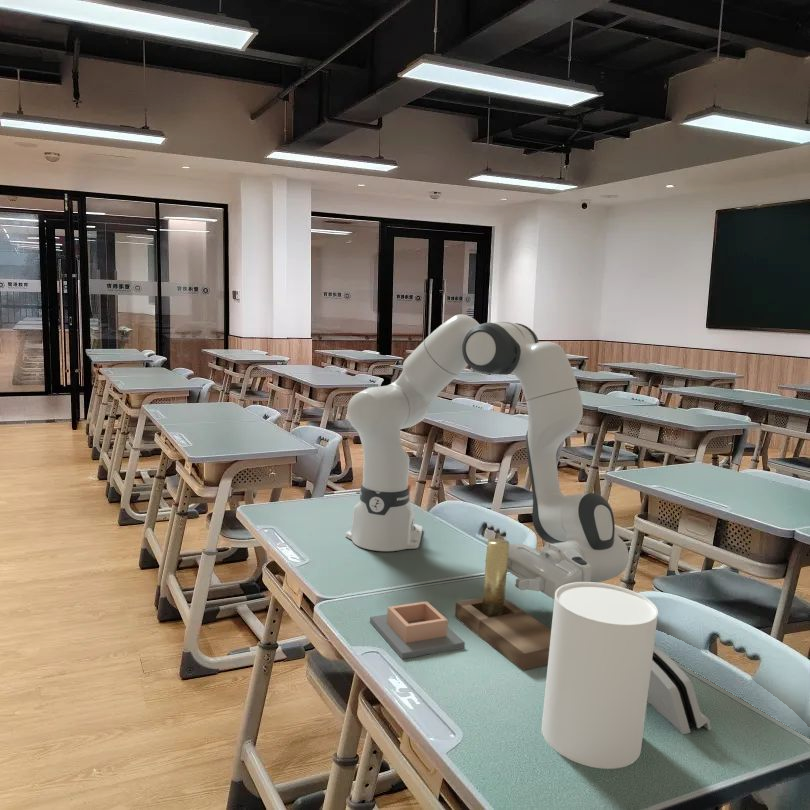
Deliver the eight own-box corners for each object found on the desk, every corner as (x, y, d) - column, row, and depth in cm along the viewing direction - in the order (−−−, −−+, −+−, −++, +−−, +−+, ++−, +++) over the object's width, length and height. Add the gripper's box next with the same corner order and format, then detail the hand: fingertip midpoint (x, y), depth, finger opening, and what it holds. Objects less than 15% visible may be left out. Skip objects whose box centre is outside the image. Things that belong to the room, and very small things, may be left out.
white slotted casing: (713, 731, 100) (701, 672, 97) (685, 744, 99) (673, 685, 96) (644, 670, 116) (632, 619, 113) (620, 681, 115) (608, 630, 112)
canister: (621, 710, 103) (636, 584, 101) (656, 770, 90) (675, 627, 87) (532, 706, 103) (544, 579, 100) (554, 766, 90) (569, 622, 87)
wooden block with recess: (454, 616, 131) (455, 601, 131) (497, 608, 136) (498, 594, 136) (522, 670, 113) (524, 653, 113) (569, 659, 118) (571, 642, 117)
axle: (482, 617, 132) (489, 537, 129) (503, 621, 131) (510, 540, 128) (478, 626, 128) (485, 543, 126) (500, 630, 127) (507, 547, 125)
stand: (369, 622, 127) (371, 601, 126) (427, 613, 132) (429, 593, 131) (401, 658, 114) (403, 636, 114) (464, 647, 119) (466, 626, 119)
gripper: (527, 533, 144) (472, 540, 137) (597, 569, 126) (538, 579, 120) (524, 562, 145) (470, 570, 138) (593, 601, 127) (534, 613, 121)
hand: (502, 574), depth 129 cm, fingers open, 8 cm apart
